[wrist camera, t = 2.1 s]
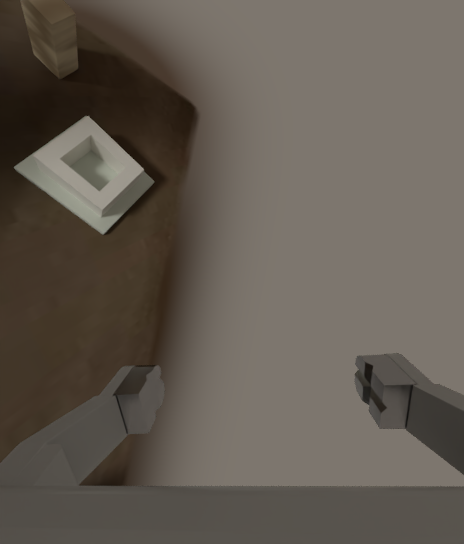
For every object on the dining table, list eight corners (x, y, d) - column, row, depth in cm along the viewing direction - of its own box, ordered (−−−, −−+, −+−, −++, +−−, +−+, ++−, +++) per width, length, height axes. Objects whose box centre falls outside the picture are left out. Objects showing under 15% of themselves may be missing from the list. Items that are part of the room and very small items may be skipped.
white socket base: (15, 170, 32) (2, 151, 27) (85, 119, 37) (85, 96, 32) (103, 235, 38) (104, 228, 33) (153, 183, 43) (161, 171, 38)
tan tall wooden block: (33, 54, 33) (17, -12, 26) (54, 43, 35) (44, -22, 27) (59, 79, 35) (51, 24, 28) (78, 68, 36) (75, 13, 29)
